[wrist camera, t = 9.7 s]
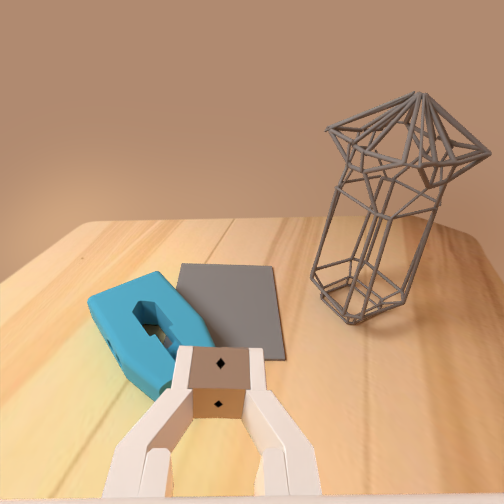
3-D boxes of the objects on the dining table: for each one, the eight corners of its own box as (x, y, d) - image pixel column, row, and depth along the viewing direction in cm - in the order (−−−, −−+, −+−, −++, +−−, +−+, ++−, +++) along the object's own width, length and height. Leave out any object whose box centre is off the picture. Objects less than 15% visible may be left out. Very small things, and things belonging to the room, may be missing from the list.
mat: (161, 359, 47) (160, 357, 46) (181, 264, 64) (181, 263, 64) (284, 360, 48) (285, 358, 48) (271, 267, 66) (271, 266, 66)
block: (229, 367, 46) (163, 291, 58) (230, 344, 43) (159, 269, 55) (149, 420, 39) (93, 321, 51) (143, 396, 36) (85, 298, 48)
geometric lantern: (412, 321, 56) (526, 105, 36) (342, 352, 50) (431, 110, 29) (351, 268, 67) (412, 80, 47) (288, 288, 61) (325, 80, 41)
